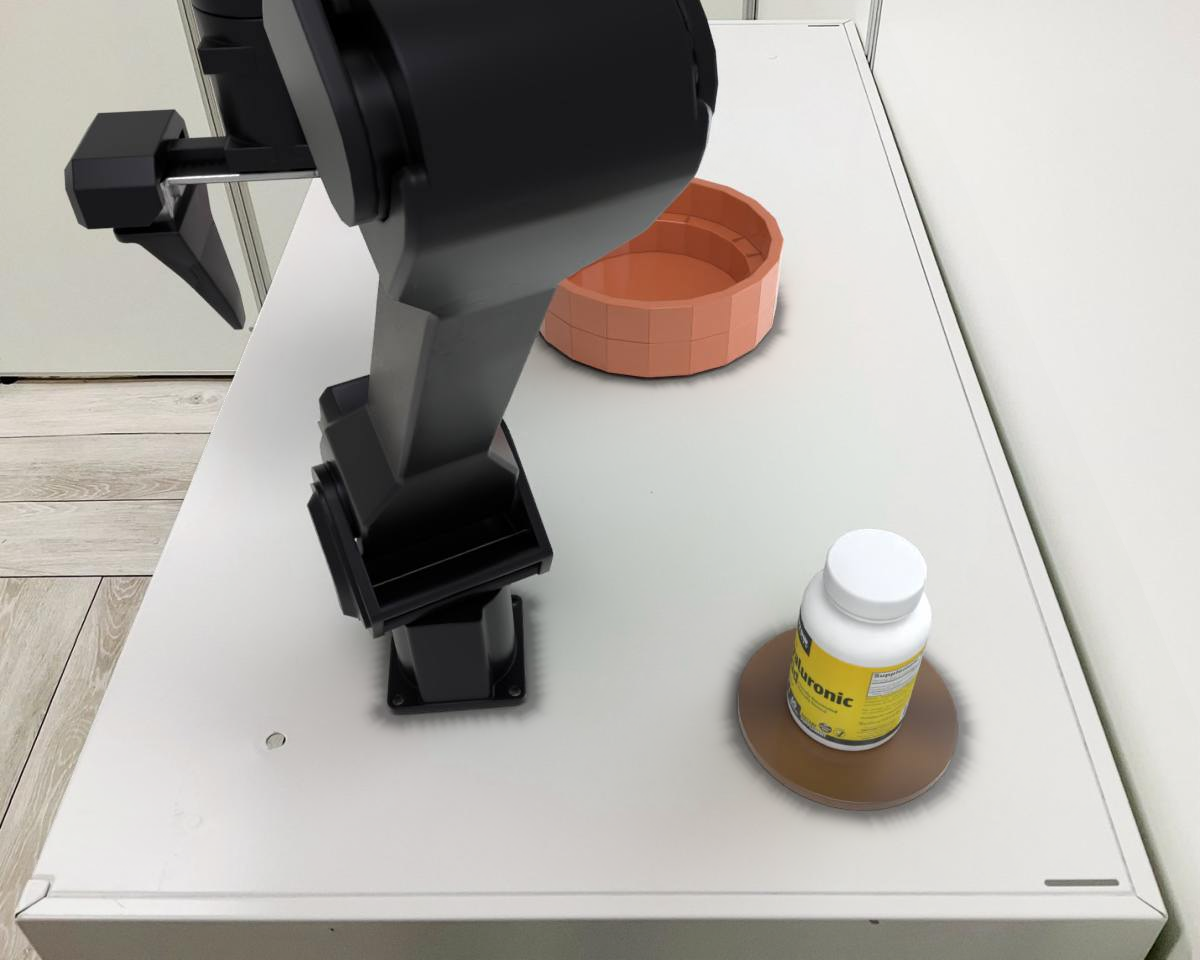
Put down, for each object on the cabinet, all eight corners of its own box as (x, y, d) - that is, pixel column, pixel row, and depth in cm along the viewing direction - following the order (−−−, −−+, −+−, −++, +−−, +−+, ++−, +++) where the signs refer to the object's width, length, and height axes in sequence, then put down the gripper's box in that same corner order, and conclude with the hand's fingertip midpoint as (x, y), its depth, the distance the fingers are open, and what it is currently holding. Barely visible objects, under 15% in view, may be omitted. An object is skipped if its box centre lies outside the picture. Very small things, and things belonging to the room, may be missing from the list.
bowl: (797, 372, 70) (807, 299, 66) (537, 388, 69) (532, 315, 66) (750, 236, 82) (756, 168, 78) (527, 248, 81) (523, 180, 78)
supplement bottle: (762, 682, 52) (783, 538, 45) (859, 643, 54) (893, 499, 47) (827, 774, 48) (860, 632, 42) (928, 729, 50) (975, 585, 43)
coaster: (986, 801, 48) (989, 793, 48) (759, 819, 47) (760, 812, 47) (919, 622, 55) (921, 614, 55) (721, 637, 55) (722, 629, 54)
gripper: (498, -81, 50) (520, 224, 61) (77, -64, 49) (175, 244, 60) (502, 10, 42) (527, 345, 53) (-2, 33, 41) (128, 369, 52)
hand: (335, 319), depth 54 cm, fingers open, 9 cm apart
